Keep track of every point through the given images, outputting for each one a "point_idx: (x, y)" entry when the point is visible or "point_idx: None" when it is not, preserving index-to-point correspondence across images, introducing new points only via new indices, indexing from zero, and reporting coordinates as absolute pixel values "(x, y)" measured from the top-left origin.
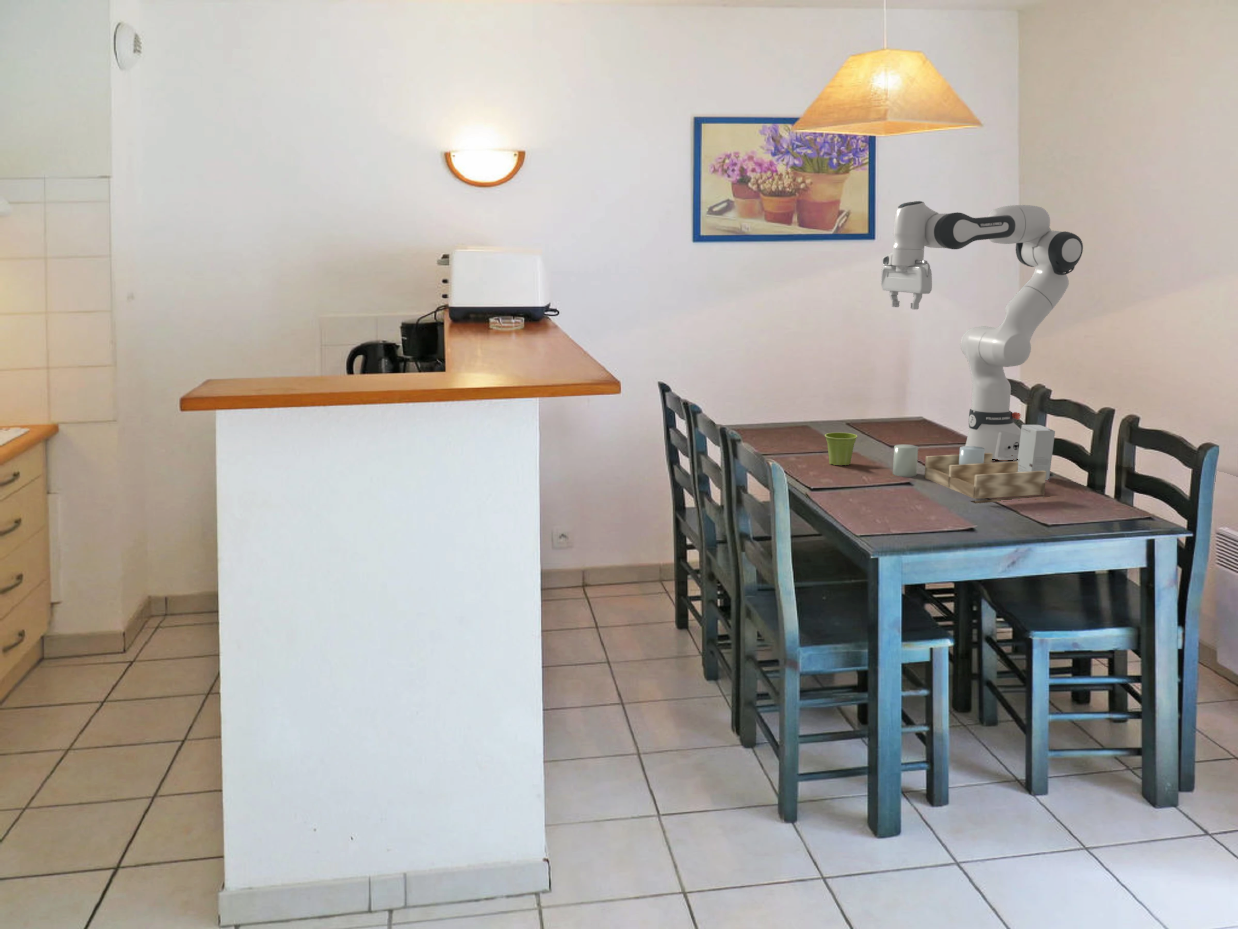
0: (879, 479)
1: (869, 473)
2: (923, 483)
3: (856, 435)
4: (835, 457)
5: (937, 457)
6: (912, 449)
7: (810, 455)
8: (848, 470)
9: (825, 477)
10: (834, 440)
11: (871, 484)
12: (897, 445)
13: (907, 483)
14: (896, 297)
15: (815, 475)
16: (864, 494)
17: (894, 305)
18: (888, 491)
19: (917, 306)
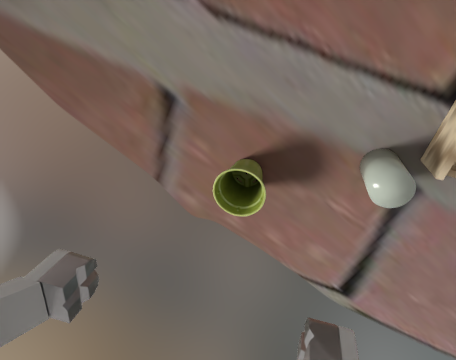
0: (358, 198)
1: (320, 182)
2: (424, 167)
3: (252, 174)
4: (252, 192)
5: (453, 162)
6: (413, 194)
7: (179, 165)
8: (287, 191)
9: (303, 241)
10: (249, 211)
11: (373, 227)
12: (372, 193)
13: None
14: (2, 305)
15: (287, 242)
16: (407, 270)
17: (92, 294)
18: (419, 239)
19: (353, 356)
